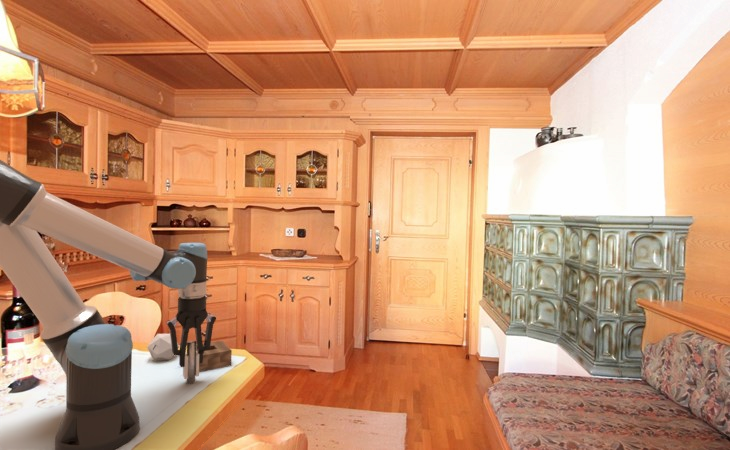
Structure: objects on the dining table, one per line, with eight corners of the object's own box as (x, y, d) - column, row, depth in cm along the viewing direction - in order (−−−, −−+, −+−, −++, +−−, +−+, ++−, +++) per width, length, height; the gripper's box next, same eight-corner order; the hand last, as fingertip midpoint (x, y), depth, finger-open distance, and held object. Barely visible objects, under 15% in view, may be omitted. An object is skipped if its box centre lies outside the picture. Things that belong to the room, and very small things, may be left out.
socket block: (195, 372, 117) (195, 356, 117) (188, 360, 126) (188, 346, 126) (231, 365, 124) (231, 350, 123) (222, 354, 133) (222, 340, 132)
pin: (187, 385, 109) (187, 343, 108) (185, 381, 111) (186, 341, 110) (196, 383, 110) (196, 342, 110) (194, 379, 112) (195, 340, 112)
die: (147, 358, 129) (139, 341, 123) (169, 339, 135) (163, 322, 129) (163, 371, 126) (156, 354, 120) (186, 351, 132) (180, 334, 126)
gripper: (164, 301, 102) (163, 387, 103) (223, 295, 111) (221, 374, 112) (160, 296, 108) (159, 377, 109) (216, 291, 117) (215, 365, 118)
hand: (190, 375), depth 110 cm, fingers closed on pin, 2 cm apart
